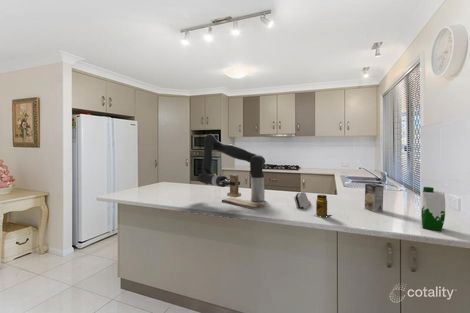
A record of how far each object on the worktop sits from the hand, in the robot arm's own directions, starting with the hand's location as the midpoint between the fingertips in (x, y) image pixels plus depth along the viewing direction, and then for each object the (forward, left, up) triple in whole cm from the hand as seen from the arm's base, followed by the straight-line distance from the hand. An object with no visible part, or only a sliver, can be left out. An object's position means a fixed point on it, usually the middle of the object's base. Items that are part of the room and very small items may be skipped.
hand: (237, 183), depth 163 cm
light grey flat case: (-35, +28, -16) cm, 47 cm away
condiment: (-22, +48, -16) cm, 55 cm away
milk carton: (-38, +97, -16) cm, 105 cm away
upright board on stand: (0, -3, -8) cm, 9 cm away
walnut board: (-10, -5, -16) cm, 19 cm away
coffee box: (-55, +66, -16) cm, 87 cm away
